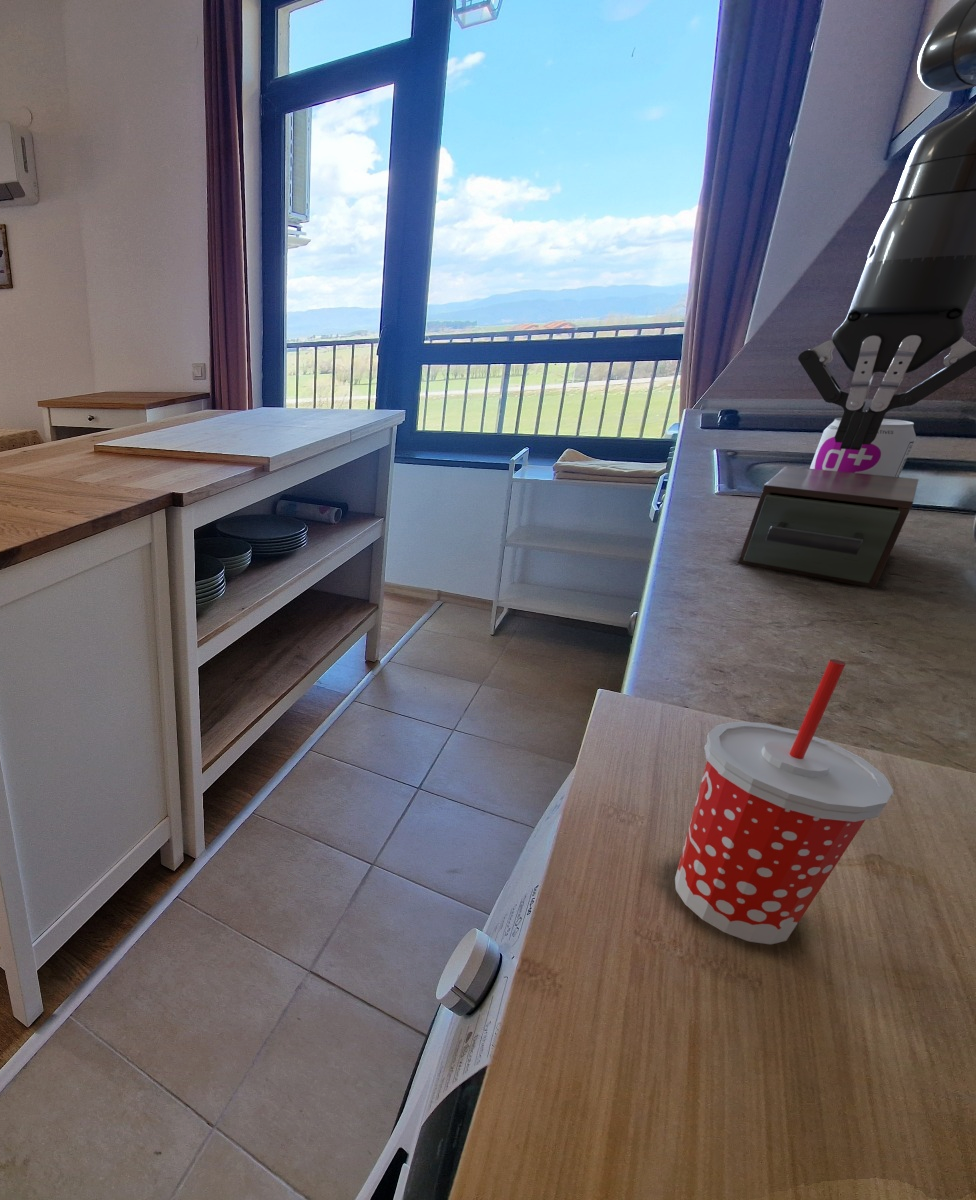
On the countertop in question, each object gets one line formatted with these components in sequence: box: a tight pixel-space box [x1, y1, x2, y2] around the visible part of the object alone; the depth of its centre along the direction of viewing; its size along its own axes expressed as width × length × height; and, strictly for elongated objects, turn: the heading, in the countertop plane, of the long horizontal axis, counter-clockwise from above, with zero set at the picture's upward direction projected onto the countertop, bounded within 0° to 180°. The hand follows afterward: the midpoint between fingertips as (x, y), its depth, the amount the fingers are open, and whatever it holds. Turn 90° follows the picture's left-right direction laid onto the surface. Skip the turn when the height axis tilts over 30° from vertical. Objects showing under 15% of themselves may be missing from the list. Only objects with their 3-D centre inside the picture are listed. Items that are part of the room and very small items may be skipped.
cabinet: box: [737, 465, 919, 589], centre depth 74 cm, size 15×12×10 cm
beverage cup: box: [674, 658, 894, 945], centre depth 29 cm, size 6×6×14 cm
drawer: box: [744, 494, 900, 583], centre depth 71 cm, size 19×10×8 cm, turn 131°
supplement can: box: [809, 417, 917, 477], centre depth 82 cm, size 8×8×15 cm
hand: (850, 448), depth 64 cm, fingers closed
